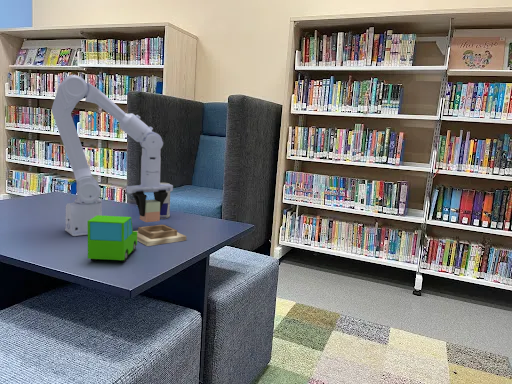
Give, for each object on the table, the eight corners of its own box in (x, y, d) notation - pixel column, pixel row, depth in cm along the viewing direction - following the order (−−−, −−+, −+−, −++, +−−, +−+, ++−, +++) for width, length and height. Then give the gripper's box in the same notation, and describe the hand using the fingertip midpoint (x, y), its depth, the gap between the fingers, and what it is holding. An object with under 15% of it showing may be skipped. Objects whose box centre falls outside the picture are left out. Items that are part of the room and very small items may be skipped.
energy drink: (150, 217, 144) (151, 183, 142) (161, 214, 148) (161, 182, 146) (162, 219, 141) (163, 185, 139) (172, 217, 146) (173, 183, 144)
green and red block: (146, 222, 124) (146, 202, 123) (139, 219, 128) (140, 200, 127) (159, 220, 127) (160, 201, 126) (153, 218, 131) (153, 199, 130)
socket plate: (147, 246, 109) (147, 236, 109) (128, 235, 118) (128, 226, 118) (186, 240, 117) (186, 231, 117) (166, 231, 126) (166, 222, 126)
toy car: (142, 248, 107) (142, 211, 106) (128, 265, 94) (128, 222, 93) (102, 246, 107) (102, 209, 105) (83, 263, 94) (82, 220, 92)
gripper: (133, 173, 117) (132, 219, 119) (178, 172, 127) (176, 215, 129) (123, 170, 123) (123, 215, 125) (167, 169, 132) (166, 211, 134)
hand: (149, 214), depth 127 cm, fingers closed on green and red block, 4 cm apart
